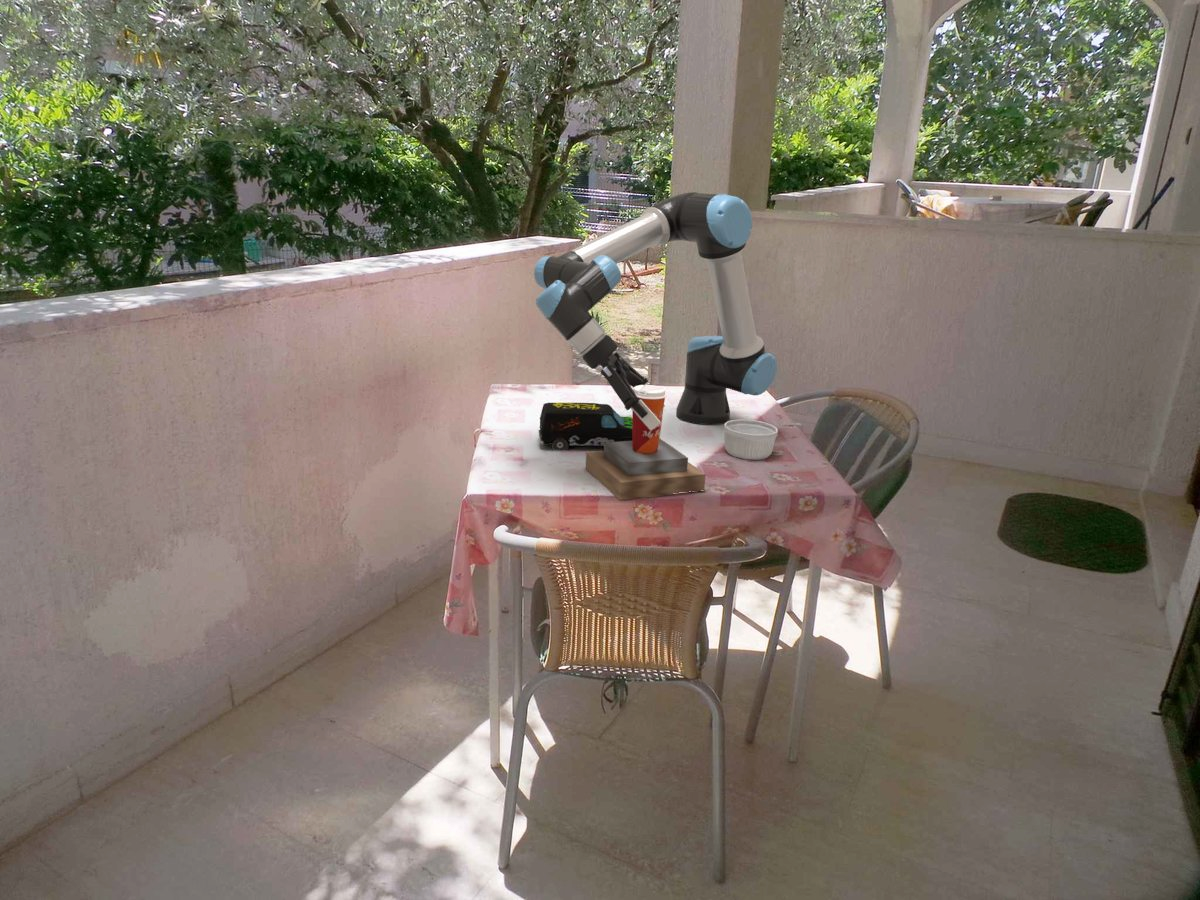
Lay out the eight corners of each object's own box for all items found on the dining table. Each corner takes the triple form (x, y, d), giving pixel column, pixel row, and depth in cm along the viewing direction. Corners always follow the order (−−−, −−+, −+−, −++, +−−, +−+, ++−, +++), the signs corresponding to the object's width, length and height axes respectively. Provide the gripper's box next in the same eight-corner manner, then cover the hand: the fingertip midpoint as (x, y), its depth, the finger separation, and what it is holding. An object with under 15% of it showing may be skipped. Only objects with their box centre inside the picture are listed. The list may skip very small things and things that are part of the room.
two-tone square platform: (663, 461, 203) (665, 433, 201) (704, 491, 186) (706, 461, 183) (585, 468, 196) (587, 439, 193) (620, 500, 178) (621, 468, 176)
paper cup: (651, 457, 184) (656, 395, 179) (621, 450, 187) (625, 388, 183) (668, 449, 190) (673, 388, 186) (638, 441, 194) (642, 382, 189)
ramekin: (782, 452, 215) (786, 426, 213) (762, 465, 204) (765, 438, 202) (734, 441, 222) (737, 416, 219) (712, 453, 211) (715, 427, 209)
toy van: (640, 452, 209) (643, 413, 206) (539, 451, 206) (540, 411, 203) (633, 439, 219) (636, 401, 216) (537, 437, 216) (538, 399, 213)
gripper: (589, 344, 196) (650, 413, 199) (571, 368, 172) (639, 445, 175) (613, 323, 193) (674, 393, 196) (598, 344, 170) (667, 423, 173)
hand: (658, 417), depth 186 cm, fingers open, 13 cm apart
